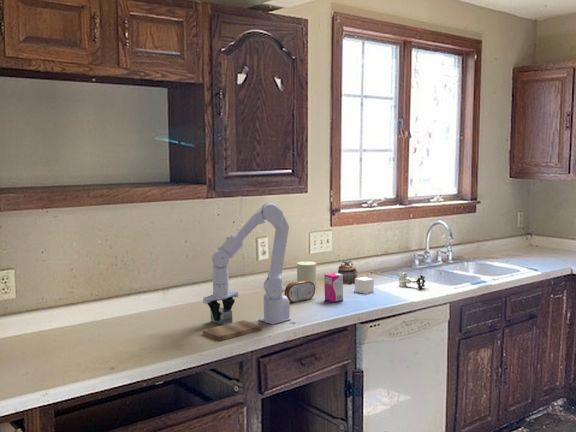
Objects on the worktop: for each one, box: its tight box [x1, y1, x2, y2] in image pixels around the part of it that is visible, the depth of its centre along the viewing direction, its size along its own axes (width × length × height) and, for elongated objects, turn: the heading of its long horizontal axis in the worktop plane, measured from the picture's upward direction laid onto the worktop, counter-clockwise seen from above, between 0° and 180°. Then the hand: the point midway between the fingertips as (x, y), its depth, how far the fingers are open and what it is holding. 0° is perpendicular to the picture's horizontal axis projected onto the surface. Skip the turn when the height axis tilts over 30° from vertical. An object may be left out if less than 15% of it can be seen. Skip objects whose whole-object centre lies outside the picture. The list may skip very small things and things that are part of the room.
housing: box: [209, 306, 233, 326], centre depth 217 cm, size 4×8×5 cm, turn 43°
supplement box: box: [323, 272, 344, 304], centre depth 248 cm, size 6×6×12 cm
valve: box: [398, 271, 426, 290], centre depth 272 cm, size 7×7×12 cm
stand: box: [202, 319, 262, 342], centre depth 205 cm, size 18×10×2 cm, turn 132°
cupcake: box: [337, 260, 359, 284], centre depth 285 cm, size 10×10×10 cm
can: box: [296, 260, 317, 289], centre depth 273 cm, size 9×9×12 cm
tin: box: [284, 280, 316, 303], centre depth 249 cm, size 15×3×8 cm, turn 126°
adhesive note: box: [354, 276, 375, 294], centre depth 264 cm, size 6×6×6 cm
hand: (221, 319), depth 217 cm, fingers closed on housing, 4 cm apart
